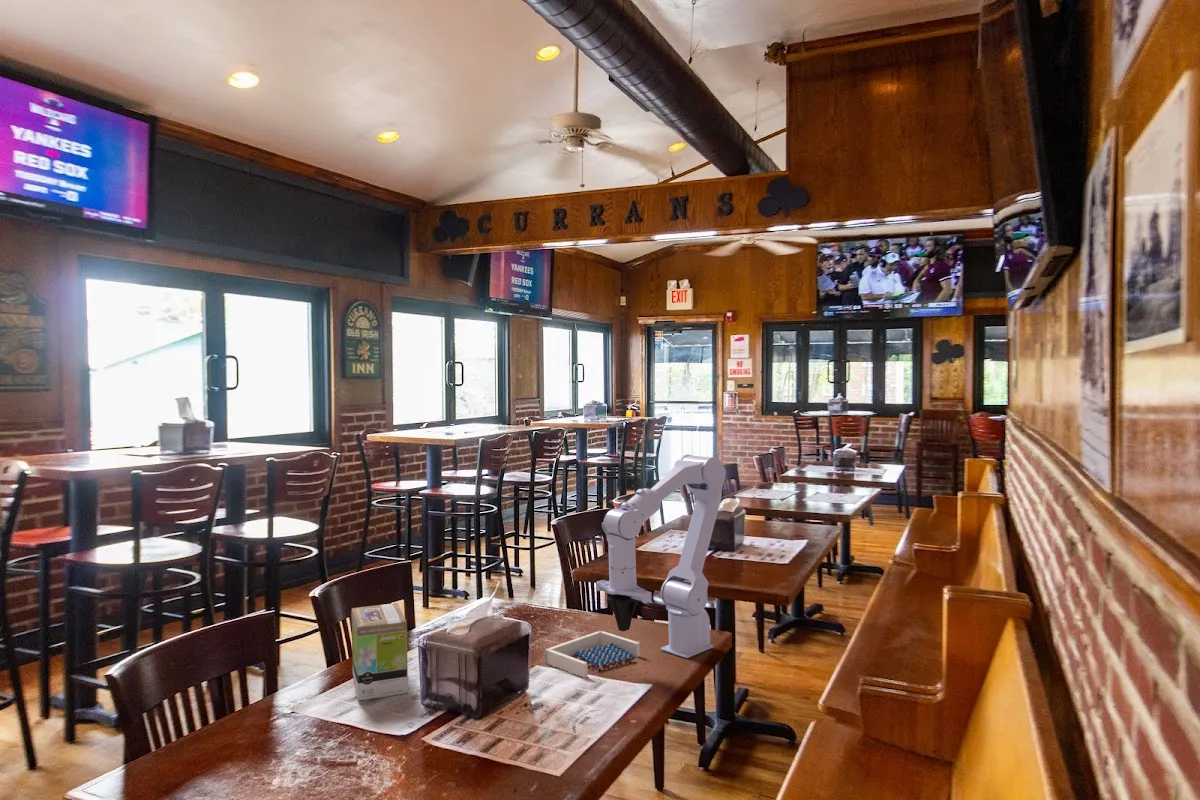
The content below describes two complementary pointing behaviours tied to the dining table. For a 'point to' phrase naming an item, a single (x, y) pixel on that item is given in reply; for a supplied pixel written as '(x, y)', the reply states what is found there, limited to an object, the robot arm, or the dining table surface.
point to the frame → (563, 652)
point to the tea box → (379, 651)
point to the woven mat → (604, 657)
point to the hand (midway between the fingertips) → (624, 629)
